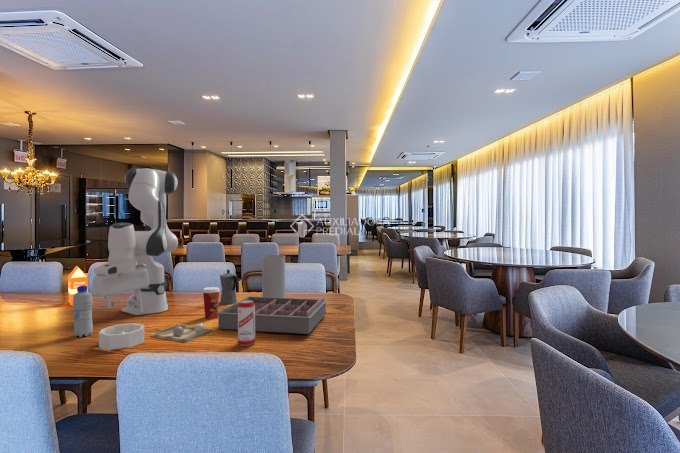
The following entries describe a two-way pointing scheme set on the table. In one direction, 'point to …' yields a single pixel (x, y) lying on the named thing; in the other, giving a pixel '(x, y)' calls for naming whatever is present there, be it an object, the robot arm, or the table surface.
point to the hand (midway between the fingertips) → (122, 303)
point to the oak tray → (185, 337)
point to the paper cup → (211, 302)
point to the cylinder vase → (273, 276)
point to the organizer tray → (278, 314)
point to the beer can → (246, 322)
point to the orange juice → (76, 282)
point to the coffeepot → (228, 288)
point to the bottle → (82, 312)
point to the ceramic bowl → (121, 336)
